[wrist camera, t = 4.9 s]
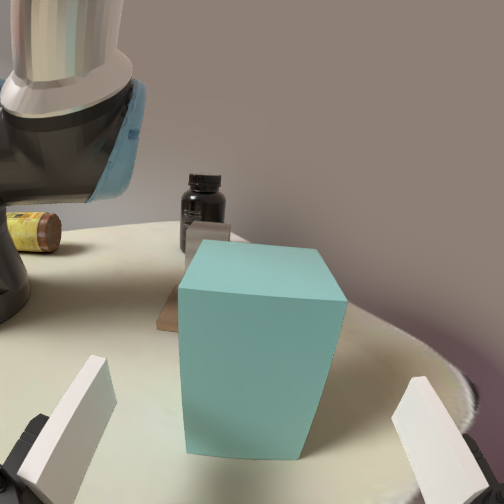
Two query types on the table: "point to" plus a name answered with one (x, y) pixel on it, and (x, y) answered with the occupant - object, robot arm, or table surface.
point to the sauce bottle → (34, 231)
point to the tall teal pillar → (255, 347)
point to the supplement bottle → (201, 202)
